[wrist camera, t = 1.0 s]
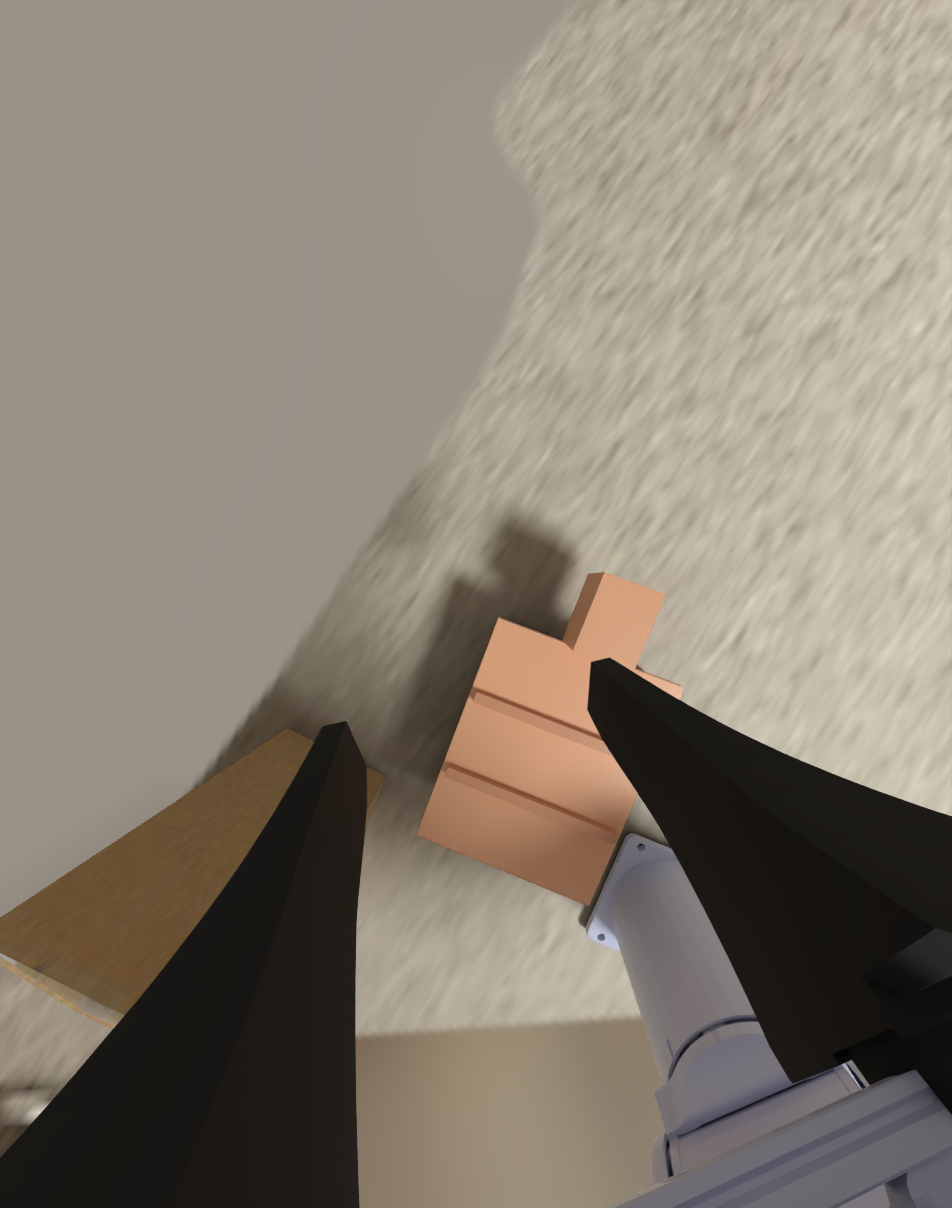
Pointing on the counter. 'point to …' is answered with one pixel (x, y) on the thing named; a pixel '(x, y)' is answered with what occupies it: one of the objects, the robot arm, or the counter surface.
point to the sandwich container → (149, 887)
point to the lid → (544, 747)
